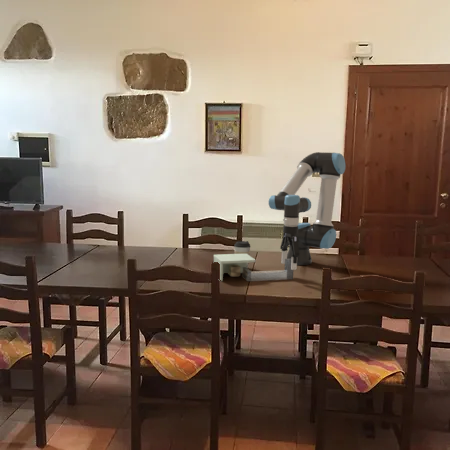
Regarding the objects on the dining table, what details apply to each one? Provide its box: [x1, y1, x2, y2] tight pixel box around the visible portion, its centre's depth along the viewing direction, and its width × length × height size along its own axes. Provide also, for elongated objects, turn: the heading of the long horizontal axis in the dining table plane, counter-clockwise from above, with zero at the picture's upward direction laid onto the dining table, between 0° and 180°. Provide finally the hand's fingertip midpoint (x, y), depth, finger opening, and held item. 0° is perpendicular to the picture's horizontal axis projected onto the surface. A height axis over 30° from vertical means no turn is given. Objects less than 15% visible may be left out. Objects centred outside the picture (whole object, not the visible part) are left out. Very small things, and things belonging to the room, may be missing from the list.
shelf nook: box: [213, 253, 256, 282], centre depth 265 cm, size 18×15×10 cm
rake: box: [241, 259, 294, 282], centre depth 264 cm, size 24×9×10 cm, turn 104°
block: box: [227, 265, 241, 277], centre depth 269 cm, size 5×5×5 cm
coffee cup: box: [233, 240, 251, 269], centre depth 283 cm, size 9×9×15 cm
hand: (288, 266), depth 263 cm, fingers open, 13 cm apart
